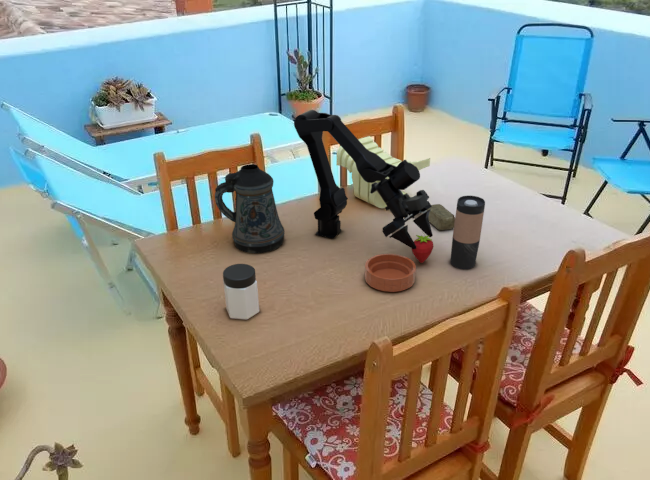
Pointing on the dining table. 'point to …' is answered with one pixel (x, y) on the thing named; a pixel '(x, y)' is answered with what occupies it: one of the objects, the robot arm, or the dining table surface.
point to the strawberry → (422, 248)
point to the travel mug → (467, 231)
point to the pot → (390, 272)
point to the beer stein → (252, 210)
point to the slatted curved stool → (359, 183)
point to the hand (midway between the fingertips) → (423, 242)
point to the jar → (241, 291)
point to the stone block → (441, 217)
